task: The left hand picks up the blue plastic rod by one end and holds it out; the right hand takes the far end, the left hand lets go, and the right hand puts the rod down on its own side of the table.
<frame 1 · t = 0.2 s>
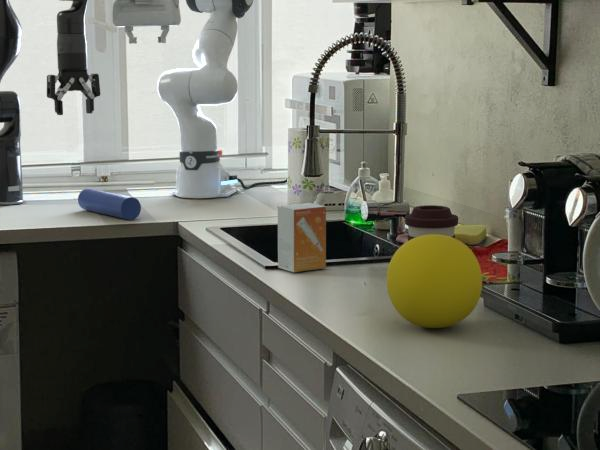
left hand: (74, 114, 274), 28 cm above the worktop, tool pointing down, fingers open, 8 cm apart
right hand: (147, 43, 288), 47 cm above the worktop, tool pointing down, fingers open, 8 cm apart
rod: (109, 214, 289), on the worktop
coffee cup: (430, 287, 198), on the worktop
toy: (433, 327, 170), on the worktop
small box: (302, 269, 215), on the worktop
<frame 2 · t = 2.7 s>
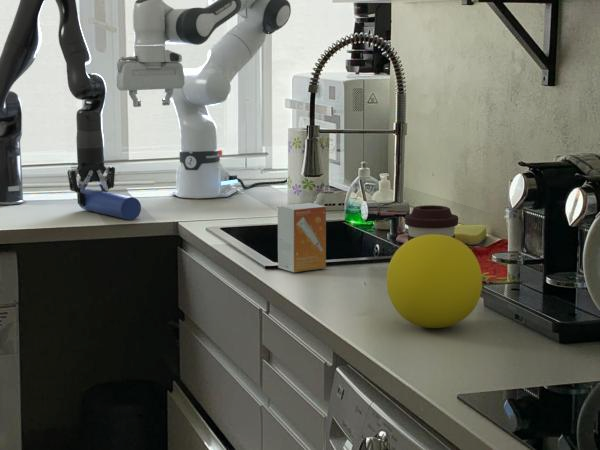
left hand: (93, 204, 295), 2 cm above the worktop, tool pointing down, fingers closed on rod, 6 cm apart
right hand: (151, 106, 292), 29 cm above the worktop, tool pointing down, fingers open, 8 cm apart
rod: (109, 214, 289), on the worktop, touching left hand
everything else where it was.
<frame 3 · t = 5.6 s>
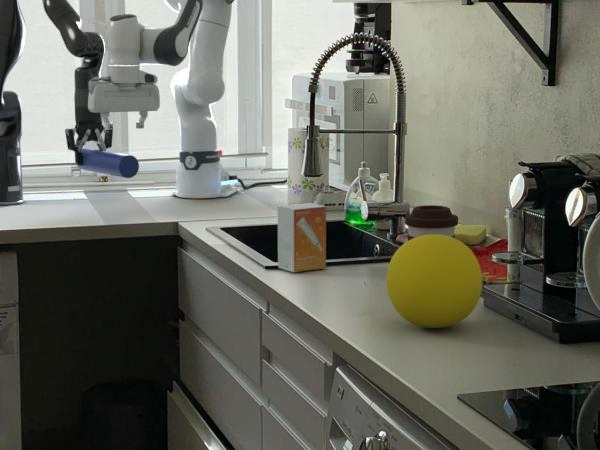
left hand: (90, 164, 293), 13 cm above the worktop, tool pointing down, fingers closed on rod, 6 cm apart
right hand: (124, 129, 278), 24 cm above the worktop, tool pointing down, fingers open, 8 cm apart
rod: (106, 173, 287), point 11 cm above the worktop, touching left hand
everything else where it was.
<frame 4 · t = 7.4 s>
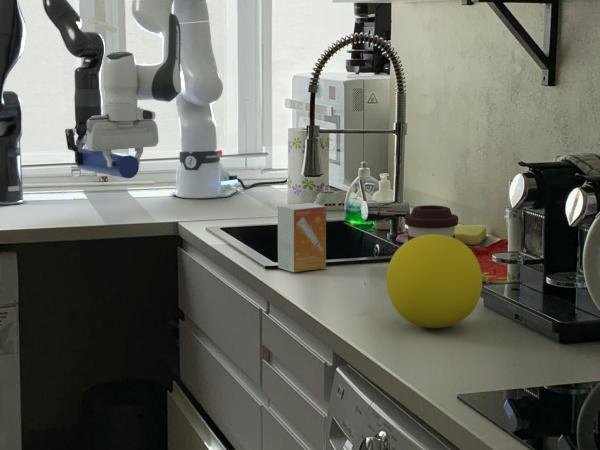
left hand: (90, 164, 293), 13 cm above the worktop, tool pointing down, fingers closed on rod, 6 cm apart
right hand: (123, 165, 279), 14 cm above the worktop, tool pointing down, fingers closed on rod, 6 cm apart
rod: (106, 174, 287), point 11 cm above the worktop, touching left hand, right hand
everything else where it was.
when the left hand's fingers open (13 cm above the worktop, at t = 8.6 s): rod stays where it is, held by the right hand.
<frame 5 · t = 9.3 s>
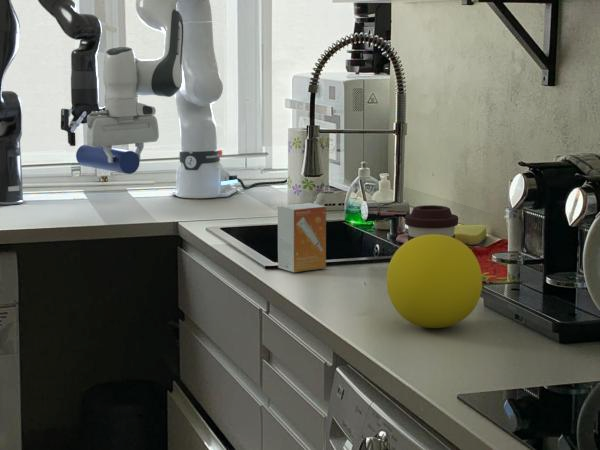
left hand: (86, 144, 294), 19 cm above the worktop, tool pointing down, fingers open, 8 cm apart
right hand: (124, 161, 279), 15 cm above the worktop, tool pointing down, fingers closed on rod, 6 cm apart
rod: (107, 169, 287), point 12 cm above the worktop, touching right hand
everything else where it was.
when the right hand's fingers open (4 cm above the worktop, at t = 19.0 s): rod stays where it is, on the worktop.
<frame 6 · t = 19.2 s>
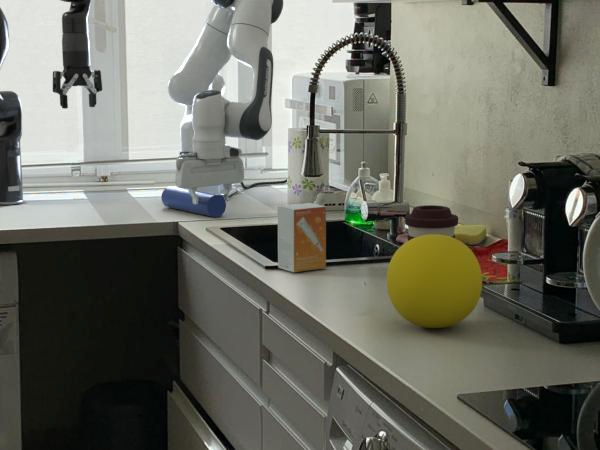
left hand: (78, 107, 295), 29 cm above the worktop, tool pointing down, fingers open, 8 cm apart
right hand: (210, 202, 284), 4 cm above the worktop, tool pointing down, fingers open, 8 cm apart
rod: (193, 212, 292), on the worktop
everything else where it was.
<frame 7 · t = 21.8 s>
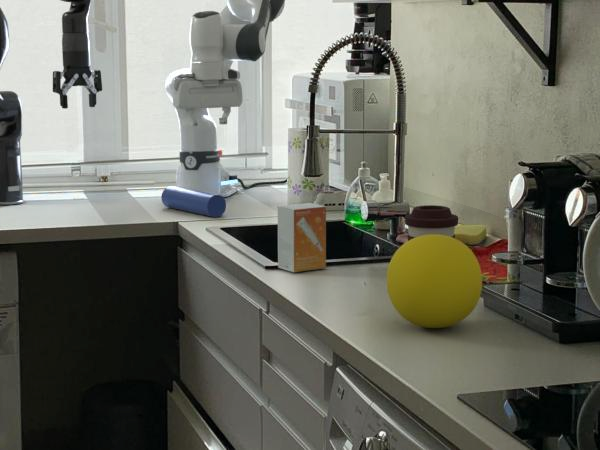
left hand: (78, 107, 295), 29 cm above the worktop, tool pointing down, fingers open, 8 cm apart
right hand: (208, 125, 281), 25 cm above the worktop, tool pointing down, fingers open, 8 cm apart
nothing on the worktop moved.
at the end: rod inside the target area (9.1 cm from its centre), on the worktop; the left hand is holding nothing; the right hand is holding nothing; rod at rest at the end (0.0 cm/s) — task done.
